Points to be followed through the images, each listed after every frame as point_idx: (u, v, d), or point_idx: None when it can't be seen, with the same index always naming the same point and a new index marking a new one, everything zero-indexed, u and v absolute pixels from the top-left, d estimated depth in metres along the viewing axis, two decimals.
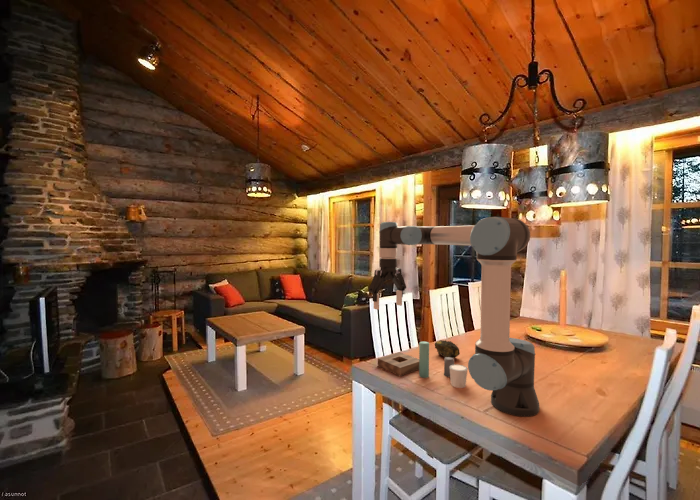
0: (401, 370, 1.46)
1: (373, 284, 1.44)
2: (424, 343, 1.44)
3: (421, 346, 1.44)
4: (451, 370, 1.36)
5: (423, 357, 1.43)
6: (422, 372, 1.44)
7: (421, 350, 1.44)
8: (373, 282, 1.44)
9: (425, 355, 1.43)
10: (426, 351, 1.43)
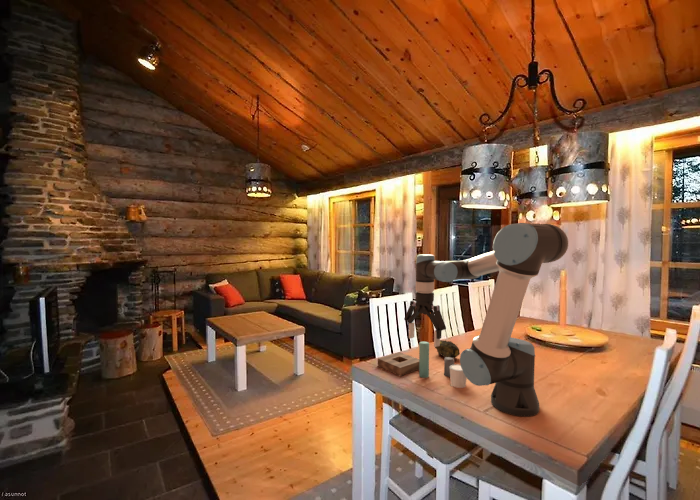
0: (401, 370, 1.46)
1: None
2: (424, 343, 1.44)
3: (421, 346, 1.44)
4: (451, 370, 1.36)
5: (423, 357, 1.43)
6: (422, 372, 1.44)
7: (421, 350, 1.44)
8: None
9: (425, 355, 1.43)
10: (426, 351, 1.43)
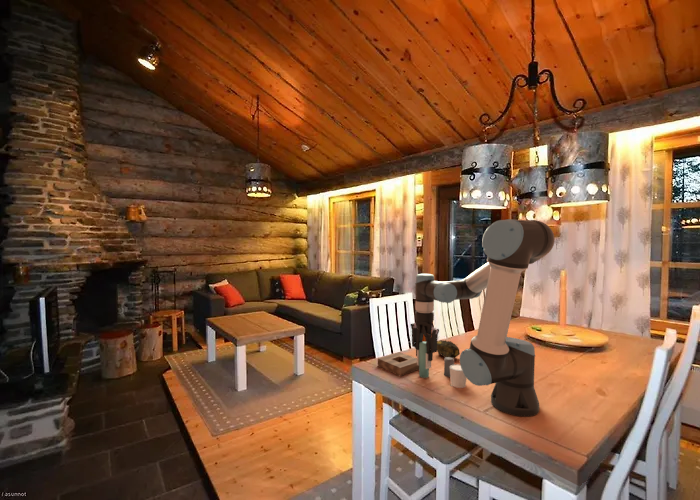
0: (401, 370, 1.46)
1: None
2: (424, 343, 1.44)
3: (421, 346, 1.44)
4: (451, 370, 1.36)
5: (423, 357, 1.43)
6: (422, 372, 1.44)
7: (421, 350, 1.44)
8: None
9: (425, 355, 1.43)
10: (426, 351, 1.43)
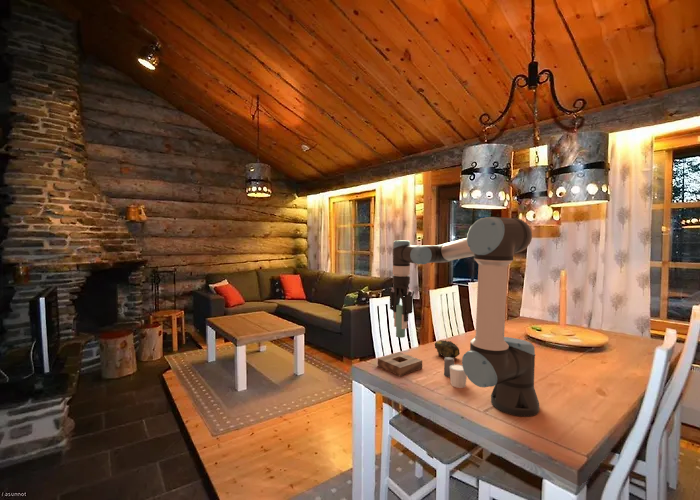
0: (401, 370, 1.46)
1: None
2: (401, 305, 1.53)
3: (398, 308, 1.53)
4: (451, 370, 1.36)
5: (400, 318, 1.52)
6: (399, 332, 1.53)
7: (398, 311, 1.53)
8: None
9: (401, 316, 1.52)
10: (402, 312, 1.52)
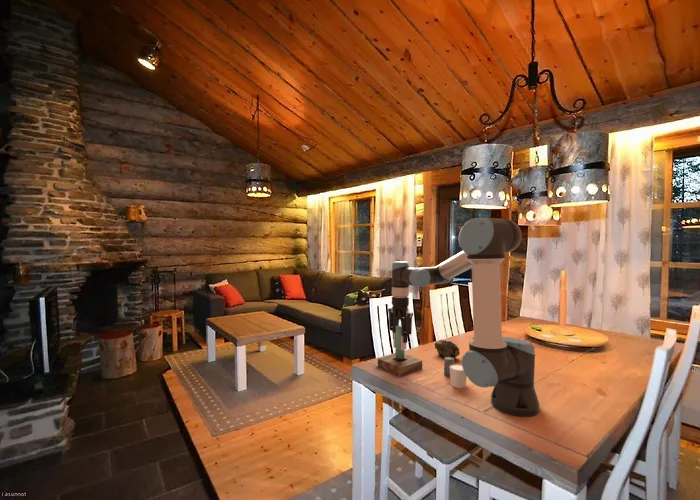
0: (401, 370, 1.46)
1: None
2: (400, 326, 1.54)
3: (397, 329, 1.53)
4: (451, 370, 1.36)
5: (399, 339, 1.53)
6: (398, 353, 1.53)
7: (397, 333, 1.53)
8: None
9: None
10: (401, 333, 1.53)
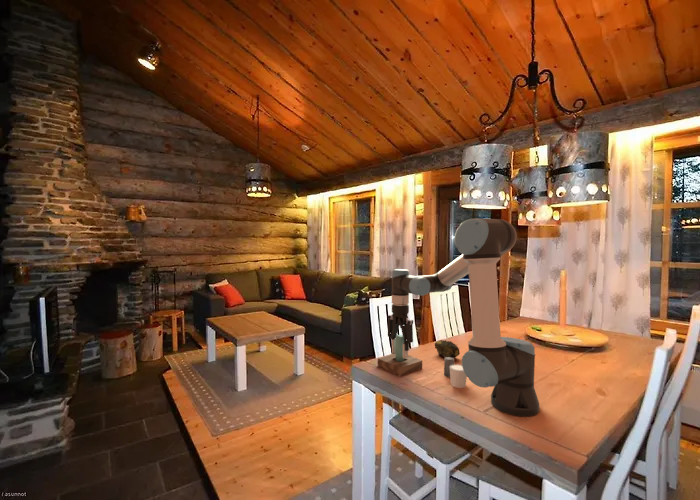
0: (401, 370, 1.46)
1: None
2: (400, 336, 1.54)
3: (397, 339, 1.53)
4: (451, 370, 1.36)
5: (399, 349, 1.53)
6: None
7: (397, 343, 1.53)
8: None
9: (401, 347, 1.53)
10: (401, 344, 1.53)
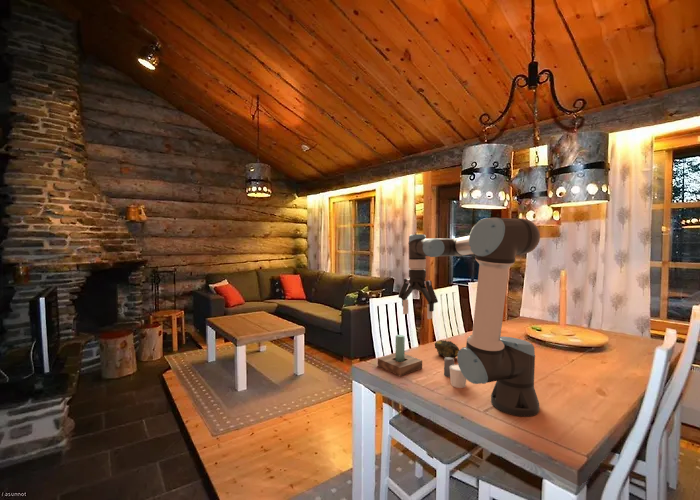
0: (401, 370, 1.46)
1: None
2: (400, 336, 1.54)
3: (397, 339, 1.53)
4: (451, 370, 1.36)
5: (399, 349, 1.53)
6: None
7: (397, 343, 1.53)
8: None
9: (401, 347, 1.53)
10: (401, 344, 1.53)
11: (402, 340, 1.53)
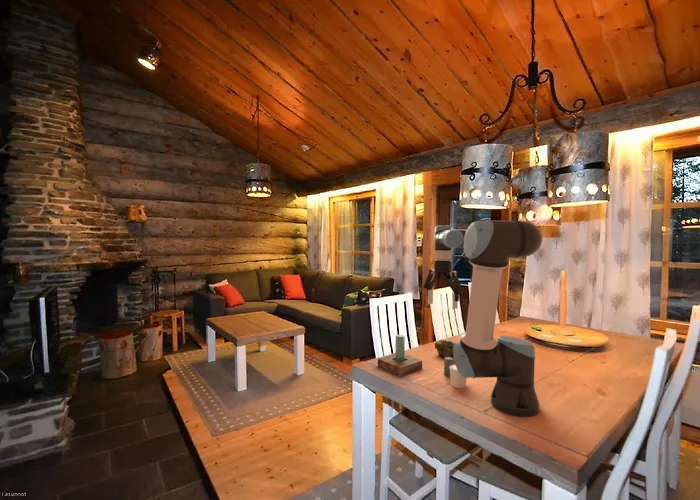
0: (401, 370, 1.46)
1: None
2: (400, 336, 1.54)
3: (397, 339, 1.53)
4: (451, 370, 1.36)
5: (399, 349, 1.53)
6: None
7: (397, 343, 1.53)
8: None
9: (401, 347, 1.53)
10: (401, 344, 1.53)
11: (402, 340, 1.53)
